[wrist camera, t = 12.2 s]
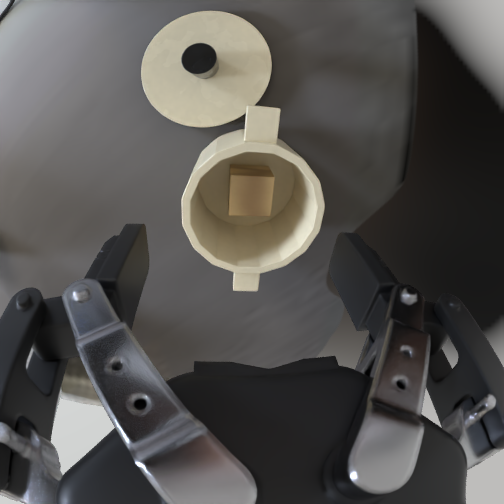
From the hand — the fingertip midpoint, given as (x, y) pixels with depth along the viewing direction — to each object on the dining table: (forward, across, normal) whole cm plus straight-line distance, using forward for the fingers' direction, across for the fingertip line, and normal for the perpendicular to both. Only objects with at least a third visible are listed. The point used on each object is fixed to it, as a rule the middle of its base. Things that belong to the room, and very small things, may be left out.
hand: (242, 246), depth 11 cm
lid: (+18, +3, -9) cm, 20 cm away
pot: (+18, -2, +3) cm, 19 cm away
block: (+18, -2, +3) cm, 19 cm away
